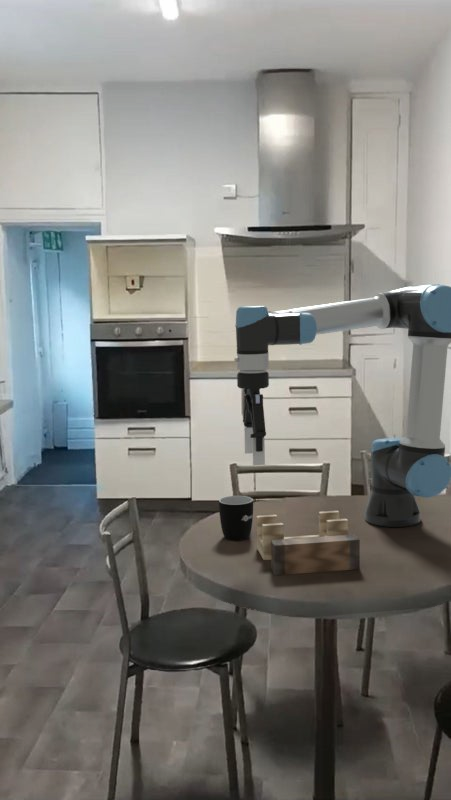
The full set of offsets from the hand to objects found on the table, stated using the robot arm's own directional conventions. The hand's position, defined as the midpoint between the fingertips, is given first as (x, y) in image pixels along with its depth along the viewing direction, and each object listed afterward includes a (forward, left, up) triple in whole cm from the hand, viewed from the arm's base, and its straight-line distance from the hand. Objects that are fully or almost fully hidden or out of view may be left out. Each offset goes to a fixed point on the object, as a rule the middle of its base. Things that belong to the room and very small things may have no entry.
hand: (254, 458), depth 195 cm
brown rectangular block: (-11, +13, -24) cm, 30 cm away
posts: (-11, 0, -24) cm, 27 cm away
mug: (+2, -16, -24) cm, 29 cm away
